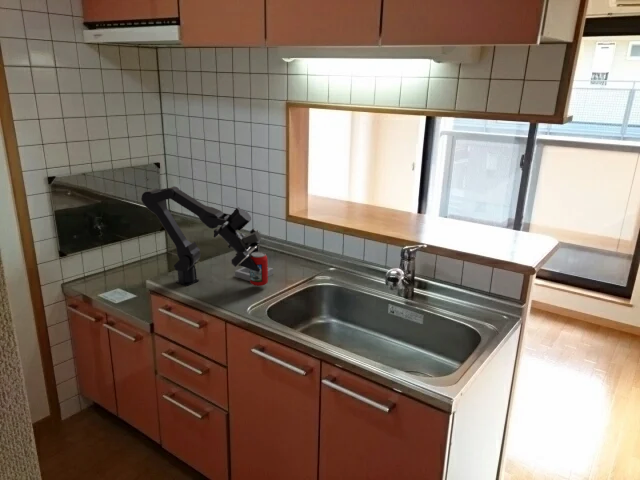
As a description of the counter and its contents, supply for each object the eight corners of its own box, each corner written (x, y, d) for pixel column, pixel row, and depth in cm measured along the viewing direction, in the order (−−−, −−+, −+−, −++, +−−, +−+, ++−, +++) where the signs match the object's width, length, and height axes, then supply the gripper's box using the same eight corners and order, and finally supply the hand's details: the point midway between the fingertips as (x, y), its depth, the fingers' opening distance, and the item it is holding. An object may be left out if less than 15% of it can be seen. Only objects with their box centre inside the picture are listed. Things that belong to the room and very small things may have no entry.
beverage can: (246, 283, 190) (245, 254, 186) (260, 278, 195) (259, 249, 191) (258, 288, 186) (257, 258, 182) (271, 283, 190) (271, 253, 187)
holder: (255, 282, 195) (255, 276, 194) (235, 276, 201) (234, 270, 200) (273, 274, 204) (273, 268, 203) (253, 268, 209) (253, 263, 209)
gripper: (238, 231, 175) (269, 263, 176) (254, 217, 192) (283, 246, 194) (218, 250, 179) (248, 282, 180) (236, 235, 196) (263, 264, 198)
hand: (262, 267), depth 188 cm, fingers closed on beverage can, 7 cm apart
